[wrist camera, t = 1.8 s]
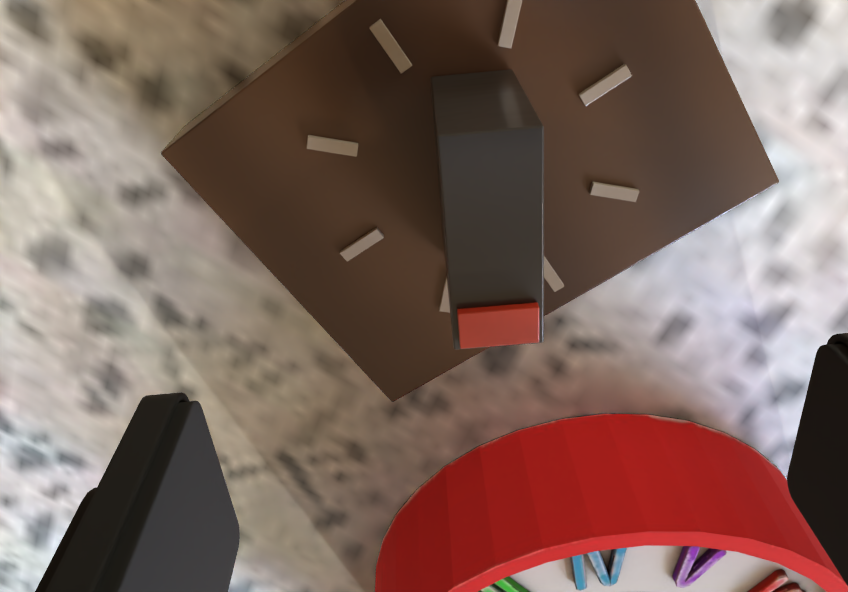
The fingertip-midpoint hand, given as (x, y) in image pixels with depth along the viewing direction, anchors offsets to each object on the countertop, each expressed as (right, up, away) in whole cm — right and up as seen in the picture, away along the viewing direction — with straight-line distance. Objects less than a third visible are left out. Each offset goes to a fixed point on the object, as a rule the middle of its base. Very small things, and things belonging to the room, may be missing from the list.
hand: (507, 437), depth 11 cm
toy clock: (+6, -11, +22) cm, 26 cm away
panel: (0, +7, +11) cm, 13 cm away
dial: (0, +6, +9) cm, 11 cm away
